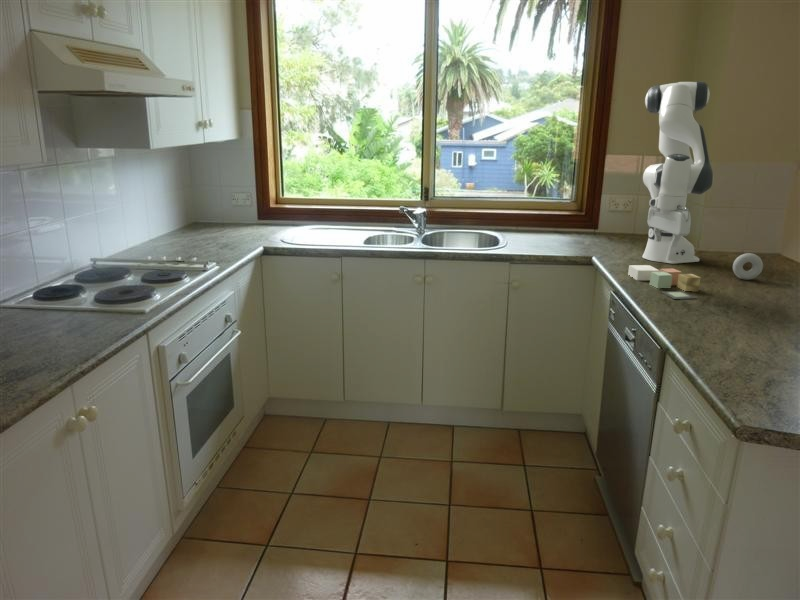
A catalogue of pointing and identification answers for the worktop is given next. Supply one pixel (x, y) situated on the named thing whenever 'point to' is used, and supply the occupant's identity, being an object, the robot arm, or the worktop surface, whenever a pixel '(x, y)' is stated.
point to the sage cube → (661, 279)
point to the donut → (745, 258)
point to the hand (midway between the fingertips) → (665, 244)
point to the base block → (641, 271)
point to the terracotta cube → (674, 274)
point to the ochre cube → (688, 282)
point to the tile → (679, 295)
